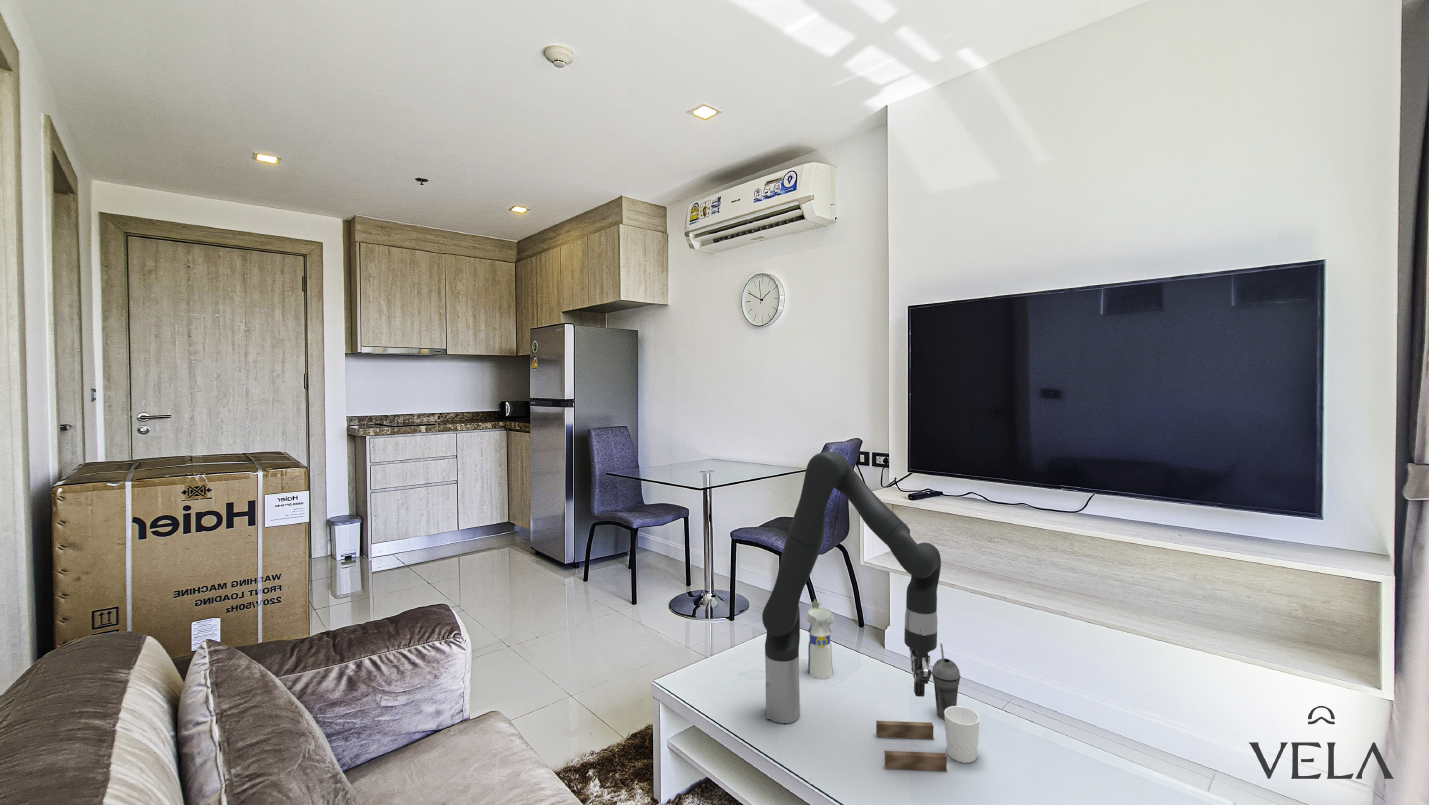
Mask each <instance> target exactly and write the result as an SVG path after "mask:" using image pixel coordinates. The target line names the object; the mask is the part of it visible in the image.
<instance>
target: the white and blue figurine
mask: <svg viewBox="0 0 1429 805" xmlns="http://www.w3.org/2000/svg"><path fill="white" fill-rule="evenodd" d="M809 603H810V604H811V605H812V606H811V608H810V609H809V610H807V613H806V617H805V618H806V621H807V622H808V623H809V624H810V625H809V628H808V631H807V632H808V634H809V640H808V645H807V646H808V648H807V649H808V652H807V653H808V655H807V656H808V660H807V661H808V663H807V674H808V675H809V676H810V677H812V678H813V679H818V680H825V679H826V680H827V679H829V678H831V677H832V676H833V674H834V672H833V671H834V669H833V652H832V651H833V650H832V643H831V634H832V630H831V628H830V626H831V625H832V624H833V623H834V621H835V616H834V615H833V612H832V610H830V609H829V608H827V607H819V606H820V605H822V603H821V602H817V599H816V598H815V599H813V601H810V602H809Z"/></svg>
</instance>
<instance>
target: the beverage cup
mask: <svg viewBox="0 0 1429 805" xmlns="http://www.w3.org/2000/svg"><path fill="white" fill-rule="evenodd" d="M939 645H940V652H941V658H940V659H938V660H936V662H934V664H933V666H932V669H931V672H932V674H931V676H932V680H933V683H934V684H933V686H934V696H935V708H936V713H937V714H936V715H937V716H938V718H939V719H941V720H943V721H945V715H944V711H945V709H946V708H948V707H951V706H958V704H957V702H958V692H959V685H960V679H961V674H960V669H959V667H958V665H957V664H956V663H955V662H954V661H953V660H951V659H949V658H945V655H944V647H943V643H941V642H940V644H939Z"/></svg>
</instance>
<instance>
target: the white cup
mask: <svg viewBox="0 0 1429 805" xmlns="http://www.w3.org/2000/svg"><path fill="white" fill-rule="evenodd" d="M944 715H945V720H944V730H945V731H944V732H945V742H946V752H947V755H949V757H950V758H951V759H952V760H954V761H956V762H959V763H963V764H971V763H973V762H975V761H976V760H977V758H978V746H979V736H980V735H979V732H980V716H979V714H978V713H977V712H976V711H974V710H973V709H971V708H969V707H966V706H960V705H956V706H951V707H948V708H946V709H945V711H944Z"/></svg>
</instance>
